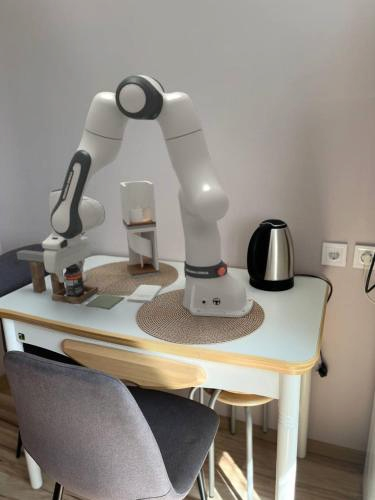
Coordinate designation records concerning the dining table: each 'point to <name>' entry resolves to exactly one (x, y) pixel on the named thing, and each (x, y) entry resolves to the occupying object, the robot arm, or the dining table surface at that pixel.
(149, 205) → the candle lantern
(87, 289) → the holder
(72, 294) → the supplement bottle
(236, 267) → the dining table surface
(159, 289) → the external hard drive
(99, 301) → the mat
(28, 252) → the grey rectangular bar
